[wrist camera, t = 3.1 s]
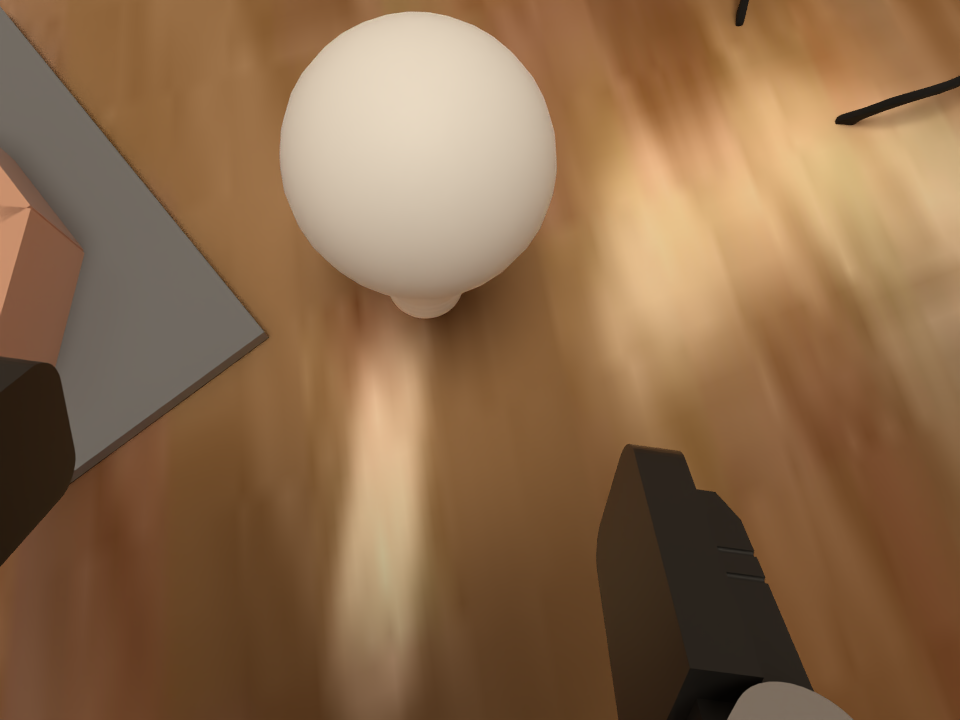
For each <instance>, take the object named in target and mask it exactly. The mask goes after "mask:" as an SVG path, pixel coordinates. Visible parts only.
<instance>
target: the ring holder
mask: <svg viewBox="0 0 960 720" xmlns="http://www.w3.org/2000/svg"><path fill="white" fill-rule="evenodd" d="M267 338H269V337H268V336H267V335H266V334H265V332H264V331H263V330H262V329H261V327H260V326H259V325H258V324H257V322H256V321H255V320H254V319H253V317H252V316H251V315H250V314H249V313H248V311H247V310H246V309H245V308H244V306H243V305H242V304H241V303H240V301H239V300H238V299H237V298H236V297H235V295H234V294H233V293H232V292H231V290H230V289H229V288H228V287H227V285H226V284H225V283H224V282H223V281H222V279H221V278H220V277H219V276H218V274H217V273H216V272H215V271H214V269H213V268H212V267H211V266H210V265H209V263H208V262H207V261H206V260H205V258H204V257H203V256H202V255H201V253H200V252H199V251H198V250H197V249H196V247H195V246H194V245H193V244H192V242H191V241H190V240H189V239H188V237H187V236H186V235H185V234H184V232H183V231H182V230H181V229H180V228H179V226H178V225H177V224H176V223H175V221H174V220H173V219H172V218H171V216H170V215H169V214H168V213H167V212H166V210H165V209H164V208H163V207H162V205H161V204H160V203H159V202H158V200H157V199H156V198H155V197H154V196H153V194H152V193H151V192H150V191H149V189H148V188H147V187H146V186H145V184H144V183H143V182H142V181H141V180H140V178H139V177H138V176H137V175H136V173H135V172H134V171H133V170H132V168H131V167H130V166H129V165H128V163H127V162H126V161H125V160H124V159H123V157H122V156H121V155H120V154H119V152H118V151H117V150H116V149H115V147H114V146H113V145H112V144H111V143H110V141H109V140H108V139H107V138H106V136H105V135H104V134H103V133H102V131H101V130H100V129H99V128H98V127H97V125H96V124H95V123H94V122H93V120H92V119H91V118H90V117H89V115H88V114H87V113H86V112H85V111H84V109H83V108H82V107H81V106H80V104H79V103H78V102H77V101H76V99H75V98H74V97H73V96H72V94H71V93H70V92H69V91H68V90H67V88H66V87H65V86H64V85H63V83H62V82H61V81H60V80H59V78H58V77H57V76H56V75H55V74H54V72H53V71H52V70H51V69H50V67H49V66H48V65H47V64H46V62H45V61H44V60H43V59H42V58H41V56H40V55H39V54H38V53H37V51H36V50H35V49H34V48H33V46H32V45H31V44H30V43H29V42H28V40H27V39H26V38H25V37H24V35H23V34H22V33H21V32H20V30H19V29H18V28H17V27H16V25H15V24H14V23H13V22H12V21H11V19H10V18H9V17H8V16H7V14H6V13H5V12H4V11H3V9H2V8H1V7H0V356H2V357H9V358H16V359H23V360H31V361H38V362H45V363H49V364H52V365H53V366H54V367H55V368H56V369H57V371H58V373H59V375H60V378H61V383H62V388H63V393H64V398H65V403H66V408H67V413H68V418H69V423H70V428H71V433H72V438H73V443H74V448H75V454H76V461H75V469H74V473H73V477H72V479H71V482H73V481H74V480H75V479H77V478H78V477H80V476H81V475H82V474H84V473H85V472H86V471H88V470H89V469H90V468H92V467H93V466H94V465H96V464H97V463H99V462H100V461H101V460H103V459H104V458H105V457H107V456H108V455H109V454H111V453H112V452H114V451H115V450H116V449H118V448H119V447H120V446H122V445H123V444H124V443H126V442H127V441H129V440H130V439H131V438H133V437H134V436H135V435H137V434H138V433H139V432H141V431H142V430H143V429H145V428H146V427H148V426H149V425H150V424H152V423H153V422H154V421H156V420H157V419H158V418H160V417H161V416H163V415H164V414H165V413H167V412H168V411H169V410H171V409H172V408H173V407H175V406H176V405H177V404H179V403H180V402H182V401H183V400H184V399H186V398H187V397H188V396H190V395H191V394H192V393H194V392H195V391H197V390H198V389H199V388H201V387H202V386H203V385H205V384H206V383H207V382H209V381H210V380H212V379H213V378H214V377H216V376H217V375H218V374H220V373H221V372H222V371H224V370H225V369H226V368H228V367H229V366H231V365H232V364H233V363H235V362H236V361H237V360H239V359H240V358H241V357H243V356H244V355H246V354H247V353H248V352H250V351H251V350H252V349H254V348H255V347H256V346H258V345H259V344H260V343H262V342H263V341H265V340H266V339H267ZM71 482H70V483H71Z"/></svg>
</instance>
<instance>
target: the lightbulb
mask: <svg viewBox="0 0 960 720" xmlns="http://www.w3.org/2000/svg"><path fill="white" fill-rule="evenodd" d="M280 169H281V175H282V181H283V187H284V192H285V195H286V197H287V200H288V202H289V205H290V207H291V209H292V212H293V214H294V217H295V219H296V221H297V224H298V226H299V228H300V229H301V231H302V232H303V234H304V235H305V236H306V238H307V239H308V241H309V242H310V244H311V245H312V246H313V248H314V249H315V250H316V251H317V252H318V253H319V254H320V255H322V256H323V257H324V258H325V259H326V260H327V261H328V262H329V263H330V264H331V265H332V266H333V267H335V268H336V269H337V270H338V271H339V272H341V273H342V274H344V275H345V276H347V277H348V278H350V279H352V280H353V281H355V282H356V283H358V284H360V285H361V286H364V287H366V288H369V289H371V290H374V291H377V292H379V293H382V294H384V295H389V296H390V297H391V299H392V301H393V302H394V304H395V305H396V306H397V307H398V308H399V309H400V310H401V311H403V312H404V313H406V314H408V315H410V316H413V317H416V318H422V319H427V318H435V317H438V316H441V315H443V314H445V313H447V312H448V311H450V310H451V309H452V308H453V307H454V306H455V305H456V303H457V302H458V301H459V299H460V296H461V294H462V293H464V292H466V291H469V290H472V289H474V288H477V287H479V286H482V285H483V284H485V283H486V282H488V281H489V280H491V279H493V278H494V277H496V276H497V275H499V274H500V273H502V272H503V271H504V270H505V269H506V268H507V267H508V266H509V265H510V264H511V263H512V262H513V261H514V260H515V259H516V258H517V257H518V256H519V255H520V254H521V253H522V252H523V251H524V250H525V249H526V248H527V247H528V246H529V244H530V243H531V241H532V240H533V238H534V237H535V235H536V234H537V232H538V231H539V229H540V228H541V225H542V223H543V220H544V217H545V215H546V212H547V210H548V207H549V205H550V202H551V199H552V196H553V191H554V185H555V178H556V172H557V165H556V146H555V133H554V129H553V126H552V122H551V119H550V115H549V112H548V109H547V106H546V103H545V100H544V97H543V95H542V93H541V91H540V89H539V88H538V86H537V84H536V82H535V80H534V78H533V77H532V75H531V74H530V73H529V72H528V71H527V69H526V68H525V67H524V66H523V64H522V63H521V62H520V61H519V60H518V58H517V57H516V56H515V55H514V54H513V53H512V52H511V51H510V50H509V49H508V48H506V47H505V46H504V45H503V44H502V43H500V42H499V41H498V40H497V39H496V38H494V37H493V36H491V35H490V34H488V33H486V32H484V31H483V30H481V29H479V28H477V27H476V26H474V25H471V24H469V23H466V22H463V21H460V20H458V19H455V18H452V17H449V16H445V15H440V14H434V13H429V12H402V13H395V14H388V15H384V16H381V17H378V18H375V19H372V20H369V21H366V22H363V23H361V24H359V25H357V26H355V27H353V28H351V29H349V30H347V31H345V32H343V33H342V34H340V35H339V36H338V37H337V38H335V39H334V40H333V41H332V42H330V43H329V44H328V45H326V46H325V47H324V48H323V49H322V51H321V52H320V53H319V54H318V55H317V56H316V58H315V59H314V60H313V61H312V62H311V63H310V64H309V66H308V67H307V68H306V69H305V70H304V71H303V73H302V74H301V76H300V78H299V80H298V82H297V83H296V85H295V87H294V89H293V91H292V93H291V96H290V99H289V102H288V106H287V109H286V113H285V116H284V120H283V124H282V128H281V139H280Z"/></svg>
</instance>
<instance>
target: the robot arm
mask: <svg viewBox="0 0 960 720" xmlns="http://www.w3.org/2000/svg"><path fill="white" fill-rule="evenodd" d="M75 461H76V454H75V448H74V443H73V438H72V433H71V428H70V423H69V418H68V413H67V408H66V403H65V398H64V393H63V388H62V383H61V378H60V375H59V373H58V371H57V369H56V368H55V367H54V366H53V365H52V364H49V363H45V362H38V361H31V360H23V359H16V358H9V357H2V356H0V566H1V565H2V564H3V563H4V562H5V561H6V560H7V558H8V557H9V556H10V555H11V554H12V553H13V552H14V551H15V549H16V548H17V547H18V546H19V545H20V544H21V543H22V542H23V540H24V539H25V538H26V537H27V536H28V535H29V534H30V532H31V531H32V530H33V529H34V528H35V527H36V526H37V525H38V523H39V522H40V521H41V520H42V519H43V518H44V517H45V515H46V514H47V513H48V512H49V511H50V510H51V509H52V508H53V506H54V505H55V504H56V503H57V502H58V501H59V500H60V498H61V497H62V496H63V495H64V493H65V492H66V490H67V488H68V486H69V484H70V482H71V479H72V477H73V473H74V469H75ZM753 553H754V550H753V547H752V545H751V543H750V540H749V538H748V536H747V533H746V531H745V529H744V526H743V524H742V522H741V520H740V519H739V517H738V516H737V515H736V514H735V513H734V512H733V511H732V510H731V509H730V508H729V507H728V506H727V504H726V503H725V502H724V501H723V500H722V499H721V498H720V497H719V496H718V495H717V494H716V492H711V491H704V490H697V489H696V487H695V485H694V482H693V479H692V476H691V474H690V471H689V468H688V465H687V463H686V460H685V457H684V455H683V454H682V452H680V451H675V450H668V449H661V448H653V447H646V446H639V445H631V444H628V445H626V446H625V447H624V449H623V451H622V453H621V456H620V459H619V463H618V466H617V469H616V473H615V476H614V480H613V483H612V486H611V490H610V493H609V496H608V500H607V503H606V506H605V510H604V513H603V516H602V520H601V523H600V527H599V532H598V539H597V552H596V562H597V573H598V580H599V587H600V594H601V601H602V608H603V615H604V622H605V629H606V636H607V643H608V650H609V657H610V664H611V671H612V678H613V685H614V692H615V699H616V706H617V713H618V720H853V719H852V718H851V717H850V716H849V715H848V714H847V713H845V712H844V711H843V710H842V709H841V708H839V707H838V706H837V705H835V704H834V703H832V702H831V701H830V700H828V699H826V698H825V697H823V696H821V695H819V694H818V693H816V692H814V690H813V688H812V686H811V684H810V682H809V679H808V677H807V675H806V672H805V670H804V668H803V665H802V663H801V660H800V658H799V656H798V653H797V651H796V649H795V646H794V644H793V642H792V639H791V637H790V635H789V632H788V630H787V627H786V625H785V623H784V620H783V618H782V616H781V613H780V611H779V609H778V606H777V604H776V602H775V599H774V597H773V595H772V592H771V590H770V587H769V585H768V584H766V583H765V582H764V579H765V576H764V573H763V571H762V569H761V566H760V564H759V562H758V559H757V557H754V556H753Z"/></svg>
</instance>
